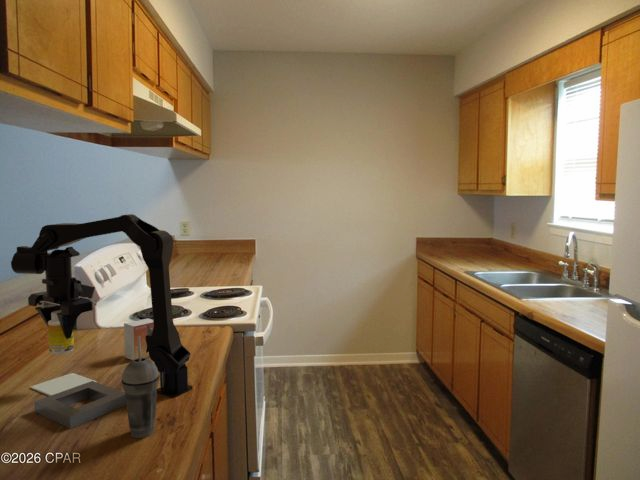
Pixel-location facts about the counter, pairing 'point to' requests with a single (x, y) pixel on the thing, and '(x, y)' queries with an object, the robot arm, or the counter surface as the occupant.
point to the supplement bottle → (58, 337)
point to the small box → (131, 337)
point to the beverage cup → (141, 394)
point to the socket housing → (71, 417)
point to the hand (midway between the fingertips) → (61, 335)
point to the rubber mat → (61, 384)
